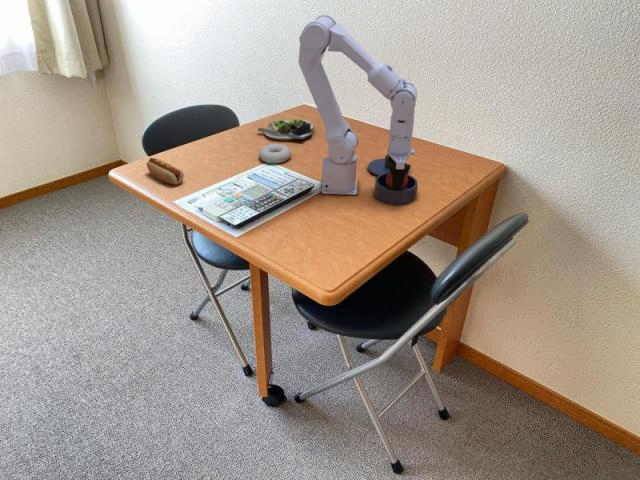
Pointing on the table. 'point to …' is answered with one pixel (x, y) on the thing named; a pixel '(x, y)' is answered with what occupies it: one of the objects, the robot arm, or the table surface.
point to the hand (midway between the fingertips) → (396, 182)
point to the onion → (389, 182)
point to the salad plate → (289, 130)
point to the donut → (275, 153)
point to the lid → (380, 166)
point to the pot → (395, 191)
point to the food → (165, 171)
